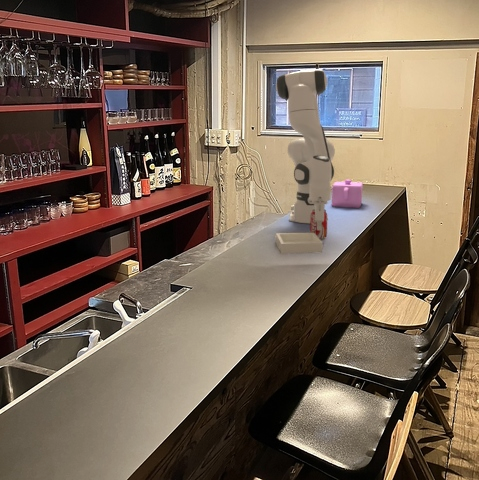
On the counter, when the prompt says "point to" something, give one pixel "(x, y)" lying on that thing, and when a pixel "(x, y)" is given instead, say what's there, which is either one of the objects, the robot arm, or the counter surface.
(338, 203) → the teapot
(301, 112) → the robot arm
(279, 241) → the tray
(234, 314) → the counter surface
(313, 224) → the soda can
